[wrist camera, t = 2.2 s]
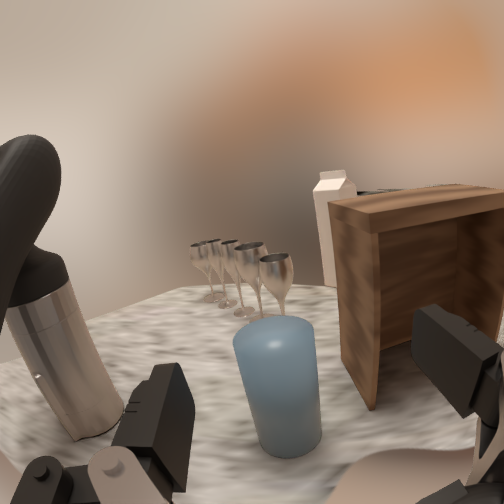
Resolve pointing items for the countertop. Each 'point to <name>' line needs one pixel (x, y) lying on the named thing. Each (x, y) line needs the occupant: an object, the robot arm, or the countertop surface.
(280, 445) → the grey-blue cylinder
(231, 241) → the goblet set
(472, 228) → the open wooden box
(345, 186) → the milk
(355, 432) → the countertop surface
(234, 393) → the countertop surface
